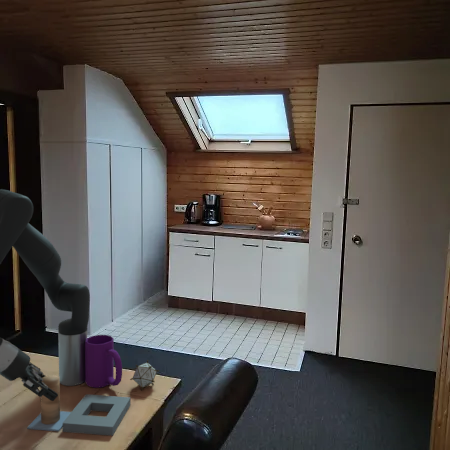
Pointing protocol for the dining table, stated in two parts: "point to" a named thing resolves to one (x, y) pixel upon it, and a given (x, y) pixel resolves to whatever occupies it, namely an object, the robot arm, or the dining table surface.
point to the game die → (144, 375)
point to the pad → (50, 427)
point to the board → (96, 424)
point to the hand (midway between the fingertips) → (53, 391)
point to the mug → (101, 362)
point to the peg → (48, 407)
